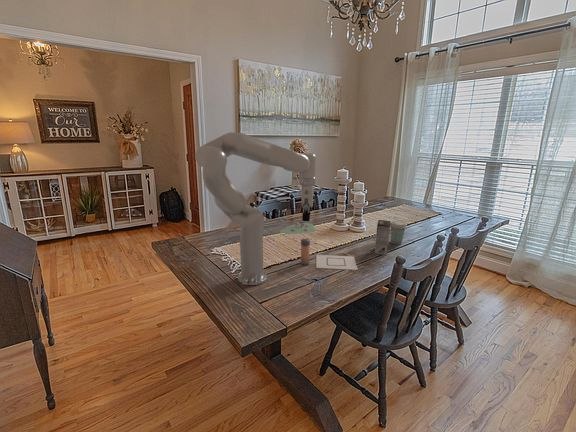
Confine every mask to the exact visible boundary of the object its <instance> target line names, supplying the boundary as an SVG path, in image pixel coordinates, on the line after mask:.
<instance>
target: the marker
mask: <svg viewBox="0 0 576 432" xmlns="http://www.w3.org/2000/svg"><path fill="white" fill-rule="evenodd" d="M300 245H301V246H300V265H302V266H308V265H310V250H311V249H310V246H311V240H310V239H309V238H302V239H300Z"/></svg>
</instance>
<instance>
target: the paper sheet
mask: <svg viewBox="0 0 576 432" xmlns="http://www.w3.org/2000/svg"><path fill="white" fill-rule="evenodd" d="M315 258H316V265H315V266H316V267H315V268H316V269H325V270H326V269H327V270H328V269H329V270H344V271H345V270H347V271H358V270H359V269H358V266H357V263H356V259H355V256H351V255H350V256H349V255H348V256H347V255H326V254H316V257H315Z"/></svg>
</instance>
